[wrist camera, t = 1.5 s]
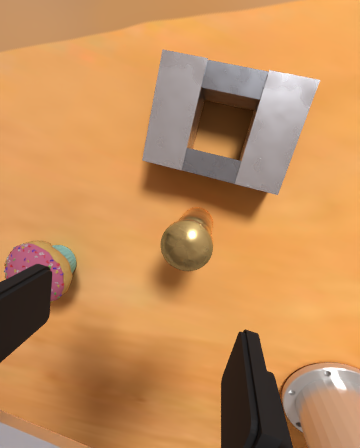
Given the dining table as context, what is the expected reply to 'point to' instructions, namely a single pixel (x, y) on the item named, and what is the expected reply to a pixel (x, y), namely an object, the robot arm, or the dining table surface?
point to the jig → (233, 96)
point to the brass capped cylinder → (189, 240)
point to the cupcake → (44, 263)
